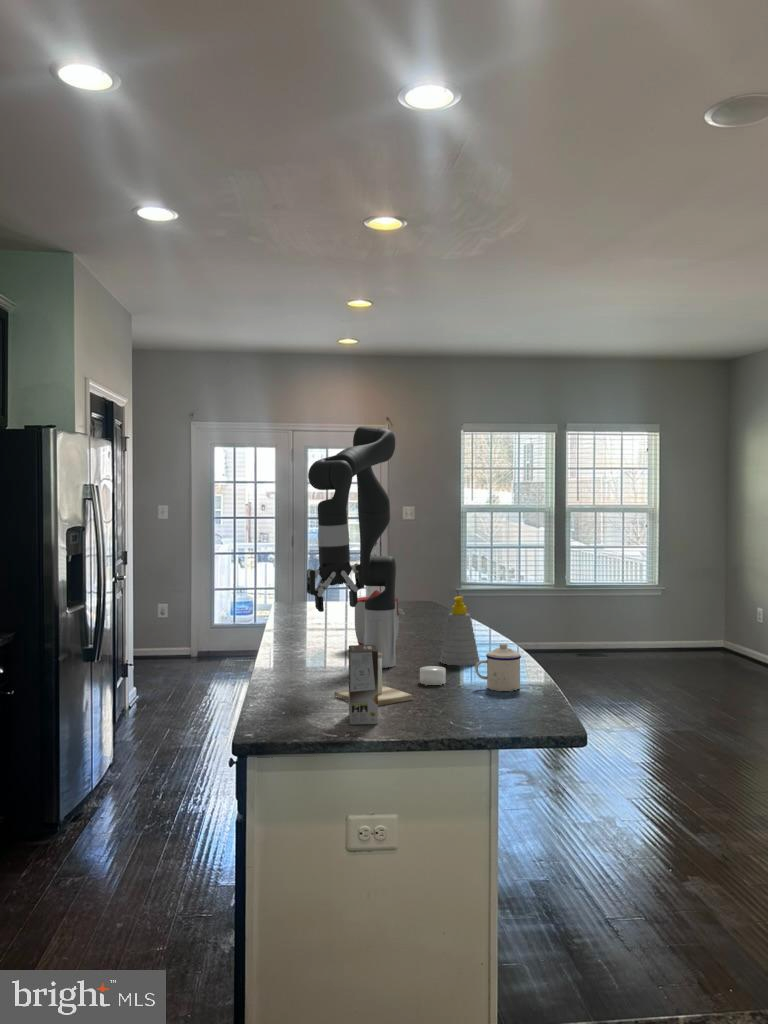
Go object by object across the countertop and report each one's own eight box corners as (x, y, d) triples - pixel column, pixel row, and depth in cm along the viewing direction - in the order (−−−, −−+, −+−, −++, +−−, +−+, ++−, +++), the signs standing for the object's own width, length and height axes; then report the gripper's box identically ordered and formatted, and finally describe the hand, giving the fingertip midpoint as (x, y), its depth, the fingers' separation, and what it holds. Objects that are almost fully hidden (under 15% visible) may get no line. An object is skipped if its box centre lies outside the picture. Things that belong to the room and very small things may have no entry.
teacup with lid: (518, 684, 208) (517, 641, 208) (523, 692, 199) (523, 646, 199) (473, 684, 208) (473, 641, 208) (477, 692, 199) (477, 647, 199)
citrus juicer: (405, 652, 257) (404, 592, 257) (352, 652, 257) (352, 592, 257) (404, 644, 272) (404, 587, 272) (355, 644, 272) (354, 587, 273)
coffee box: (378, 724, 169) (378, 651, 169) (349, 725, 168) (349, 651, 168) (375, 713, 178) (375, 644, 178) (348, 714, 178) (347, 644, 178)
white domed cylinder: (415, 682, 212) (414, 667, 212) (436, 679, 215) (435, 665, 215) (429, 687, 205) (429, 672, 205) (450, 684, 209) (450, 669, 209)
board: (334, 696, 195) (334, 692, 195) (380, 689, 203) (380, 684, 203) (365, 708, 183) (365, 703, 183) (412, 699, 191) (412, 694, 191)
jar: (359, 693, 193) (359, 653, 193) (375, 690, 196) (375, 651, 196) (370, 696, 189) (370, 656, 189) (386, 694, 192) (386, 653, 192)
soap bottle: (434, 664, 236) (433, 597, 236) (446, 657, 247) (446, 593, 248) (473, 667, 231) (473, 599, 231) (484, 660, 243) (484, 595, 243)
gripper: (353, 539, 194) (356, 602, 195) (300, 544, 187) (303, 610, 189) (366, 541, 187) (369, 607, 188) (312, 547, 181) (315, 615, 182)
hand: (336, 608), depth 189 cm, fingers open, 8 cm apart
